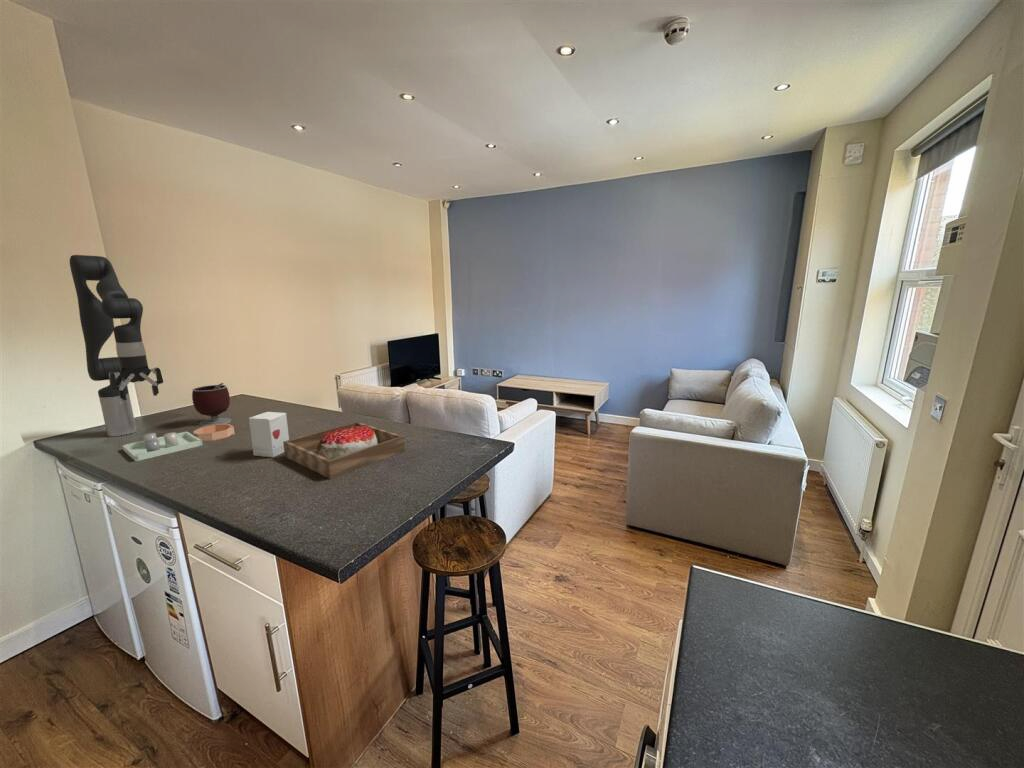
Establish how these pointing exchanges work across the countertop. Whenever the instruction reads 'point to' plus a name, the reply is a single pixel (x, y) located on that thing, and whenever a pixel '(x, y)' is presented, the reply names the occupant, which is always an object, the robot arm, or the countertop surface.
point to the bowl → (214, 432)
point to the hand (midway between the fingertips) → (140, 397)
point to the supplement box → (268, 433)
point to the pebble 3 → (170, 439)
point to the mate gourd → (211, 403)
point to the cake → (345, 441)
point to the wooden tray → (347, 463)
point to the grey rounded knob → (152, 445)
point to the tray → (161, 446)
